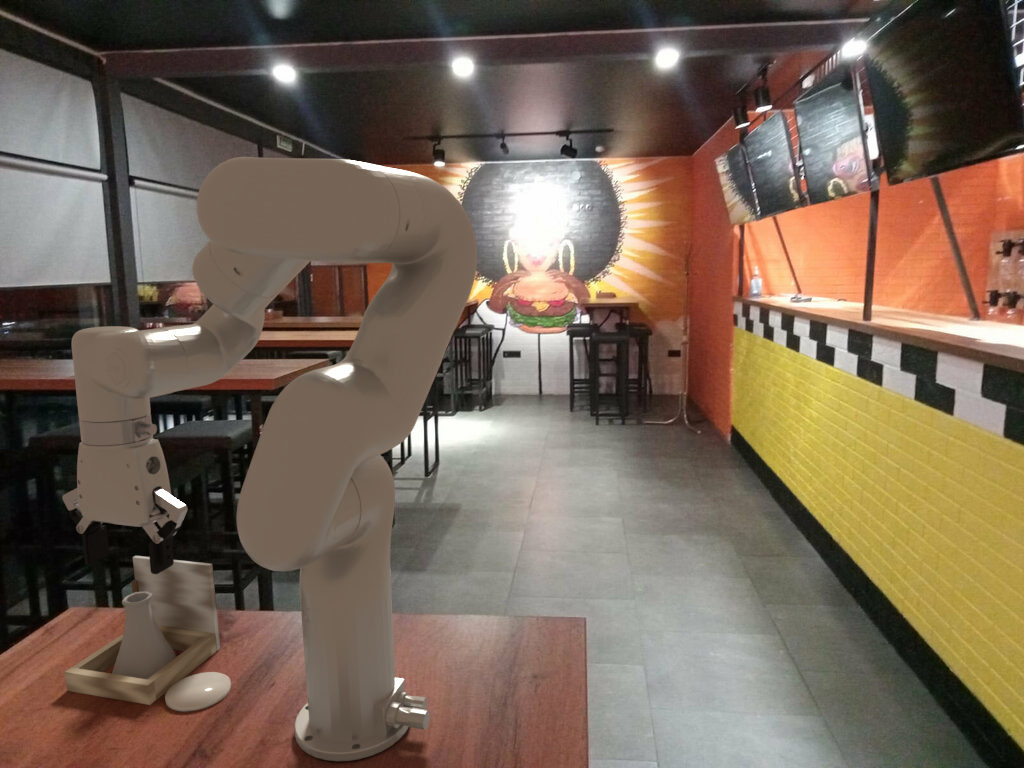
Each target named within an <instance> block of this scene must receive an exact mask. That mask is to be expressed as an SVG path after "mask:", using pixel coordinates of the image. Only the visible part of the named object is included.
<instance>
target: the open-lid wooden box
mask: <svg viewBox="0 0 1024 768" xmlns="http://www.w3.org/2000/svg"><path fill="white" fill-rule="evenodd" d="M132 563H133V572H134V573H133V574H134V580H131V581H130V582H131V591H132V594H133V593H135V592H149V593H151V594H152V598H151V600H150V603H151V610H152V613H153V616H154V619H155V622H156V623H157V625H158V627H159V629H160V630H161V632H162V634H163V636H164V637H165V639H166V641H167V642H168V644H169V645H170V647H171V648H172V650H173V651H174V650H175V651H182V652H181V653H180V654H179V655H176V656H177V657H176V658H175V659H173V660H172V661H171V662H169V663H168V664H167V665H165V666H164V667H163V668H161V669H160V670H159V671H157V672H156V673H155V674H153V675H152V676H151V677H150V678H148V679H141V678H135V677H128V676H122V675H116V674H112V673H111V672H110V673H108V672H106V670H109V668H111V667H112V666H113V665H114V666H115V663H116V659H117V656H118V653H119V649H120V646H121V642H122V638H123V635H124V633H122V634H121V635H119V636H118V637H116V638H114V639H113V640H112V641H110V642H108V643H107V644H105V645H104V646H102V647H100V648H99V649H97V650H96V651H95V652H93V653H92V654H90V655H89V656H87V657H85V658H84V659H82V660H81V661H79V662H77V663H75V664H74V665H73V666H72V667H70V668H68V669H67V670H65V671H64V678H65V679H64V680H65V685H66V691H67V692H72V693H77V694H84V695H90V696H94V697H100V698H108V699H112V700H113V699H114V700H120V701H125V702H131V703H136V704H142V705H147V706H151V705H152V704H153V703H154V702H156V701H157V700H158V699H159V698H161V697H162V696H163V695H165V694H166V692H167V691H168V689H169V688H170V687H171V686H172V685H174V684H175V683H177V682H178V681H180V680H182V679H184V678H186V677H188V675H189V674H190V673H192V672H193V671H194V670H195V669H197V668H198V667H199V666H200V665H201V664H203V663H204V662H205V661H206V660H207V659H209V658H210V657H211V656H213V655H214V654H215V653H216V652H217V651H220V649H221V644H220V643H221V641H220V633H219V622H218V620H219V619H218V610H217V601H216V592H215V591H216V590H215V580H214V570H213V569H214V567H213V563H208V562H201V561H200V562H197V561H189V560H181V559H180V560H179V559H174V563H173V565H172V566H170V567H169V568H167V569H165V570H164V571H162V572H160V573H158V574H152V573H151V569H150V558H149V556H144V555H143V556H142V555H134V556H132Z"/></svg>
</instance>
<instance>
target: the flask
mask: <svg viewBox="0 0 1024 768" xmlns="http://www.w3.org/2000/svg"><path fill="white" fill-rule="evenodd" d="M151 598H152V594H151V593H149V592H135V593H133V592H132V593H130V594H128V595H125V597H124V598H123V599H122V600H121V604H122V605H123V606H124V608H125V626H124V632H123V634H124V635H123V638H122V642H121V646H120V649H119V653H118V656H117V659H116V663H115V664H114V666H113V670H112V673H111V674H116V675H122V676H128V677H135V678H141V679H148V678H150V677H151V676H152V675H153V674H155V673H156V672H157V671H159V670H160V669H161V668H163V667H164V666H165V665H167V664H168V663H169V662H171V661H172V660H173V659H175V658H176V657H177V656H178V655H176V653H175V652H174V650H173V649H172V648H171V647H170V645H169V644H168V642H167V641H166V639H165V637H164V636H163V634H162V632H161V630H160V629H159V627H158V625H157V623H156V622H155V619H154V616H153V613H152V610H151V603H150V600H151Z"/></svg>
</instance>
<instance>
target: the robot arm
mask: <svg viewBox="0 0 1024 768" xmlns="http://www.w3.org/2000/svg"><path fill="white" fill-rule="evenodd" d="M196 199H197V200H196V214H197V218H198V223H199V225H200V228H201V229H202V231H203V232H204V234H205V235H206V237H207V239H209V241H208V242H207V243H206V244H205V245H204V247H202V248H201V249H200V251H199V252H198V253H197V254H196V256H195V257H194V260H193V263H192V267H191V268H192V270H191V271H192V275H193V279H194V281H195V284H196V286H197V287H198V289H199V291H200V292H201V293H202V294H203V296H205V298H206V299H208V300H209V302H211V304H212V305H211V306H210V307H209V309H207V310H206V311H205V313H204V314H203V315H202V316H201V317H200V318H198V319H197V320H196V321H195V322H194V323H191V324H182V325H181V324H180V325H172V326H164V327H163V326H162V327H156V328H155V327H154V328H151V329H149V328H148V329H142V330H139V329H137V328H136V327H132V326H120V325H119V326H118V325H117V326H116V325H115V326H113V325H110V326H109V325H107V326H95V327H88V328H82V329H80V330H77V331H76V332H75V333H74V334H73V336H72V338H71V354H72V362H73V373H74V383H75V385H74V386H75V392H76V401H77V402H76V403H77V404H76V405H77V414H78V423H79V430H80V431H79V433H80V440H81V442H79V443H78V450H77V453H78V454H77V463H76V464H77V467H76V483H77V484H76V485H77V486H76V488H74V489H73V490H70V491H68V492H66V493H65V494H63V495H62V501H63V503H64V504H65V507H66V509H67V510H68V511H69V512H68V516H69V517H70V518H71V520H72V521H73V522H74V523H75V524H76V527H75V528H76V531H77V533H79V534H80V535H81V540H82V549H83V557H84V560H83V561H84V564H85V565H89V566H90V565H93V564H94V563H97V562H98V561H101V560H103V559H104V558H106V557H108V556H109V555H110V549H109V539H108V537H109V536H108V529H107V525H104V524H103V523H106V524H113V525H118V526H119V525H121V526H126V527H127V526H129V527H137V528H138V527H139V528H140V527H142V529H143V530H144V531H145V533H146V534H147V535H148V536H149V538H150V539H151V540H152V541H151V542H149V543H148V555H149V556H148V557H149V558H150V569H151V573H152V574H158V573H160V572H162V571H164V570H165V569H167V568H169V567H170V566H172V565H173V563H174V560H175V558H174V550H173V548H174V547H173V536H175V535H176V534H177V532H178V531H179V529H181V527H182V526H183V524H184V519H185V517H186V515H187V512H188V509H189V508H188V506H187V504H185V503H184V502H182V501H180V499H177V497H174V496H173V495H172V490H171V484H170V477H169V473H168V467H167V466H168V465H167V462H166V459H165V455H164V451H163V448H162V447H161V444H160V441H159V439H158V438H157V439H155V438H154V435H156V434H157V431H158V427H157V425H156V423H155V424H154V423H152V414H151V402H150V401H151V400H150V399H151V398H155V397H160V396H164V395H170V394H173V393H175V392H179V391H184V390H191V389H194V388H199V387H204V386H208V385H210V384H213V383H215V382H218V381H219V380H221V379H223V378H224V377H225V376H226V375H228V374H229V373H230V372H231V371H232V370H233V369H234V368H235V367H236V366H238V365H239V364H240V362H242V360H244V359H245V358H246V356H247V355H249V353H250V352H251V351H252V350H253V349H254V348H255V347H256V345H257V344H258V343H259V340H260V338H261V335H262V333H263V332H262V331H263V328H264V324H265V316H266V315H265V313H266V312H265V309H266V308H267V307H268V306H269V305H270V303H271V302H272V301H273V300H274V299H275V298H276V297H277V296H279V294H280V293H281V292H282V291H283V290H284V289H285V288H286V287H287V286H288V285H289V284H290V283H291V282H292V281H293V279H294V278H295V277H297V275H298V274H300V273H301V271H302V270H303V269H304V268H306V266H307V265H308V264H309V263H310V262H311V261H312V262H321V263H333V264H335V263H336V264H350V265H351V264H352V265H353V264H355V265H357V264H359V265H360V264H388V263H390V264H391V269H390V272H389V275H388V276H387V277H386V280H385V281H384V282H383V284H382V285H381V286H380V287H379V289H378V290H377V292H376V293H375V295H374V296H372V299H371V301H370V302H369V303H368V305H367V307H366V309H365V311H364V313H363V316H362V319H361V323H360V326H359V329H358V331H357V334H356V335H355V338H354V340H353V342H352V345H351V346H350V348H349V350H348V351H347V354H346V355H345V357H344V358H343V359H342V360H340V361H339V362H337V363H336V364H332V365H329V366H325V367H320V368H316V369H313V370H311V371H308V372H305V373H303V374H301V375H299V376H297V377H295V378H294V379H293V380H291V381H290V382H289V383H288V384H287V385H286V386H285V387H284V388H283V389H282V390H281V392H280V393H279V394H278V395H277V397H276V398H275V400H274V402H273V403H272V405H271V407H270V409H269V411H268V414H267V417H266V420H265V422H264V425H263V427H262V429H261V433H260V436H259V439H258V440H257V444H256V447H255V450H254V453H253V455H252V458H251V461H250V464H249V467H248V470H247V473H246V475H245V478H244V481H243V484H242V487H241V490H240V493H239V497H238V501H237V505H236V506H237V508H236V528H237V534H238V537H239V541H240V543H241V546H242V548H243V549H244V551H245V553H246V555H248V557H250V558H251V560H252V561H253V562H254V563H256V564H257V565H259V566H260V567H262V568H265V569H267V570H270V571H274V572H292V571H296V570H299V597H300V611H301V612H300V613H301V625H302V627H301V629H302V640H303V652H304V653H303V654H304V656H303V657H304V669H305V681H306V695H307V696H306V697H307V703H306V704H304V705H303V707H302V708H301V709H300V710H299V712H298V713H297V716H296V718H295V721H294V725H293V726H294V737H295V741H296V743H297V745H298V746H299V748H300V749H301V750H302V751H303V752H305V753H306V754H308V755H309V756H312V757H314V758H316V759H320V760H324V761H330V762H350V761H351V762H352V761H357V760H361V759H365V758H368V757H372V756H374V755H377V754H379V753H381V752H383V751H385V750H387V749H389V748H390V747H392V746H393V745H394V744H395V743H397V742H398V741H400V739H402V737H403V736H404V735H405V734H406V733H407V731H408V729H409V728H410V729H412V728H414V729H418V730H427V729H428V727H429V724H430V721H431V720H430V719H431V711H430V710H429V709H427V707H428V698H427V697H425V696H418V695H414V696H413V695H409V694H408V692H405V690H406V689H405V688H406V687H405V679H404V678H403V677H401V678H400V677H396V662H395V660H396V659H395V639H394V622H393V619H394V618H393V602H392V601H393V600H392V599H393V598H392V577H391V576H392V575H391V572H392V569H391V547H392V546H391V545H392V543H391V541H392V530H393V524H394V523H393V522H394V515H395V506H396V488H395V487H396V486H395V480H394V475H393V473H392V470H391V468H390V465H389V464H388V463H387V461H386V460H385V458H384V457H383V456H382V454H385V453H387V452H389V451H390V450H392V449H394V448H396V447H397V446H399V445H400V444H401V443H403V442H404V441H405V440H406V439H407V438H408V437H409V436H410V435H411V434H412V431H413V430H414V427H415V426H416V424H417V421H418V418H419V417H420V413H421V411H422V409H423V407H424V404H425V402H426V399H427V397H428V395H429V392H430V390H431V387H432V385H433V383H434V380H435V378H436V377H437V373H438V371H439V369H440V366H441V364H442V361H443V359H444V356H445V353H446V350H447V348H448V346H449V344H450V341H451V338H452V336H453V334H454V332H455V331H456V328H457V326H458V324H459V321H460V319H461V316H462V314H463V312H464V310H465V307H466V305H467V302H468V301H469V298H470V295H471V291H473V290H472V289H473V286H474V282H475V279H476V274H477V273H476V272H477V268H478V266H477V265H478V246H477V240H476V234H475V231H474V228H473V225H472V223H471V219H470V218H469V216H468V214H467V212H466V210H465V208H464V207H463V206H462V204H461V203H460V202H459V200H458V199H457V198H456V196H455V195H454V194H453V193H452V192H451V191H450V190H449V189H447V187H445V186H444V185H442V184H441V183H439V182H438V181H435V180H434V179H432V178H430V177H428V176H426V175H422V174H420V173H416V172H412V171H409V170H404V169H399V168H393V167H389V166H383V165H379V164H374V163H369V162H363V161H357V160H351V159H344V158H343V159H341V158H299V157H298V158H297V157H296V158H291V157H290V158H287V157H256V156H255V157H254V156H237V157H233V158H230V159H229V158H228V159H226V160H225V161H223V162H220V164H218V165H216V166H215V167H214V168H212V170H211V171H210V172H209V173H208V174H207V175H206V177H205V178H204V179H203V181H202V183H201V185H200V188H199V190H198V194H197V198H196ZM168 515H169V516H168ZM156 522H157V525H158V526H159V527H160V529H159V528H158V527H157V526H156V524H155V523H156ZM102 524H103V525H102Z"/></svg>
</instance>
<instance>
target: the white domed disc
mask: <svg viewBox="0 0 1024 768" xmlns="http://www.w3.org/2000/svg"><path fill="white" fill-rule="evenodd" d="M231 688H232V681H231V679H230V677H229V676H228V675H226V674H224V673H222V672H216V671H206V672H199V673H195V674H192V675H189V676H185V677H184V678H183V679H182V680H180V681H178V682H177V683H175V684H174V685H172V686H171V687H170V688H169V689H168V691H167V692H165V694H164V695H165V696H164V698H165V699H164V700H165V705H166V706H167V707H168V708H169V709H170V710H173V711H176V712H184V713H185V712H194V711H195V712H196V711H199V710H203V709H205V708H209V707H211V706H214V705H216V704H217V703H219V702H220V701H222V700H223V699H225V697H226V696H228V694H229V693H230V691H231Z"/></svg>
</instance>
